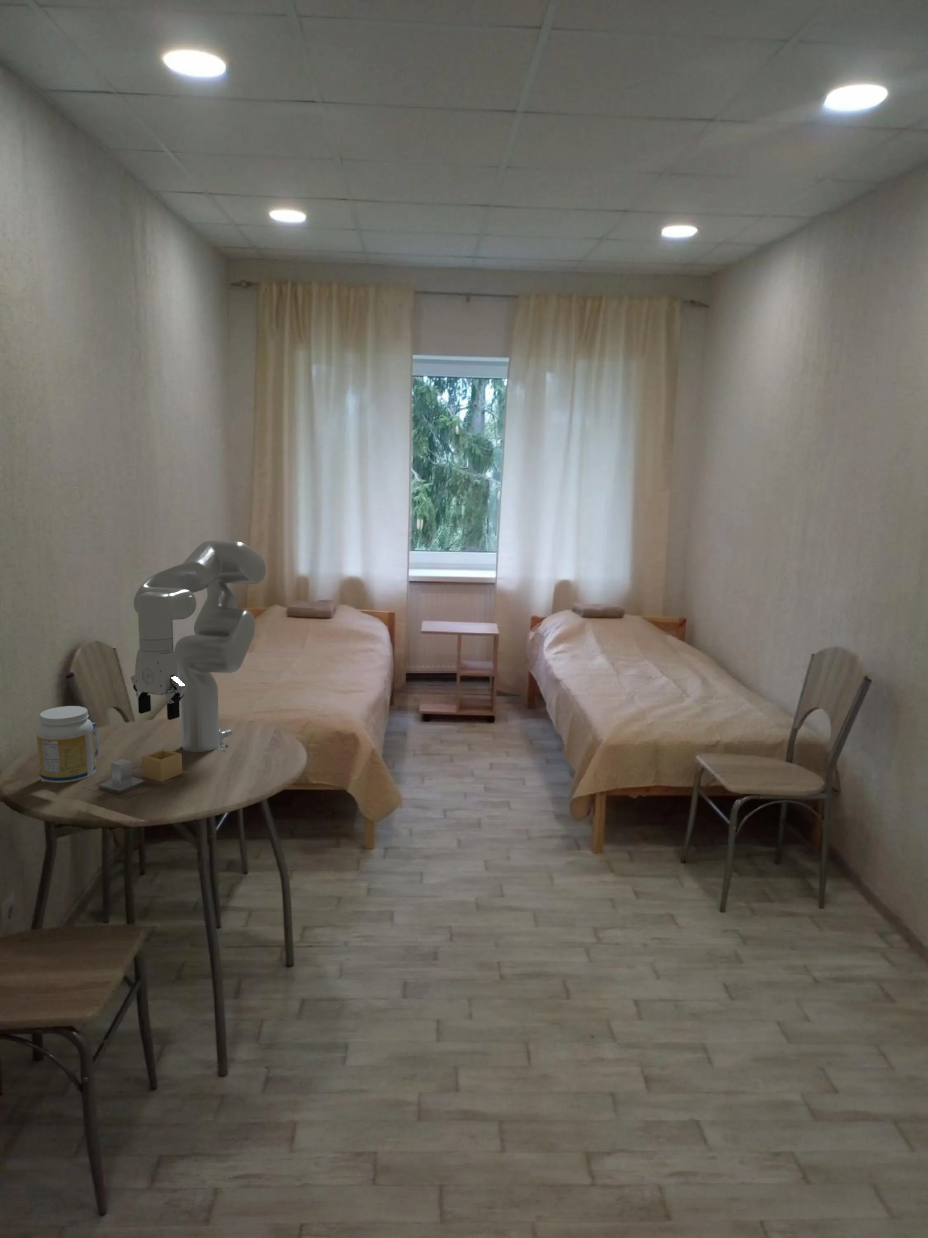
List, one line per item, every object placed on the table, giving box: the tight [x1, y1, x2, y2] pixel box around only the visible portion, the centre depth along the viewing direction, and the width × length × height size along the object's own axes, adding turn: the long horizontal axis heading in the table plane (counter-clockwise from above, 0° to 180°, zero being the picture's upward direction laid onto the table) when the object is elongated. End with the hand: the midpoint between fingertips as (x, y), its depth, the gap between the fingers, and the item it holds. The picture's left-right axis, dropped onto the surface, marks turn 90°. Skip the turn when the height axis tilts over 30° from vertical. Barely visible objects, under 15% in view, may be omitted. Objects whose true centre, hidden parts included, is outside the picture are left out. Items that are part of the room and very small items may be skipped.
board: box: [83, 765, 194, 801], centre depth 196 cm, size 20×14×2 cm
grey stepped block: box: [99, 758, 146, 795], centre depth 191 cm, size 7×7×6 cm
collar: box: [141, 748, 183, 782], centre depth 199 cm, size 6×6×5 cm
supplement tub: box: [36, 705, 97, 784], centre depth 198 cm, size 12×12×17 cm
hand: (159, 715), depth 196 cm, fingers open, 9 cm apart
